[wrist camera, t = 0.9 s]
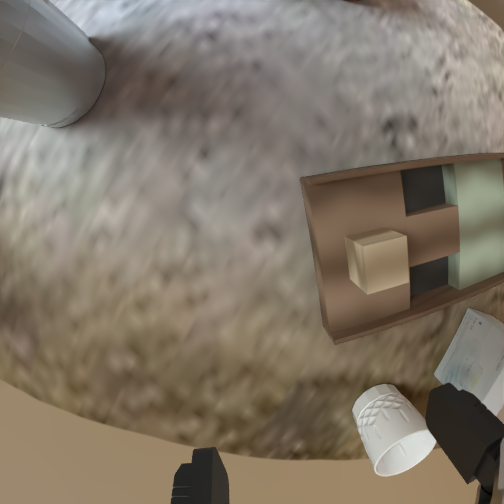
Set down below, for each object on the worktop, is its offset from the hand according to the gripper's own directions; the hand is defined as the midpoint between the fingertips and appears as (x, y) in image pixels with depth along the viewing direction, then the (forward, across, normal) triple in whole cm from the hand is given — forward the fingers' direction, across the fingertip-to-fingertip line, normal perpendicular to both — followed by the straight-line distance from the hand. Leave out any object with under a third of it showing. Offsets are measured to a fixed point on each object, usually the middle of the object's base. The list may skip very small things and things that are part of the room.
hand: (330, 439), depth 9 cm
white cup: (+21, -11, +21) cm, 32 cm away
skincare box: (+21, -25, +16) cm, 37 cm away
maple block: (+18, -9, -1) cm, 20 cm away
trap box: (+21, -17, -1) cm, 27 cm away
